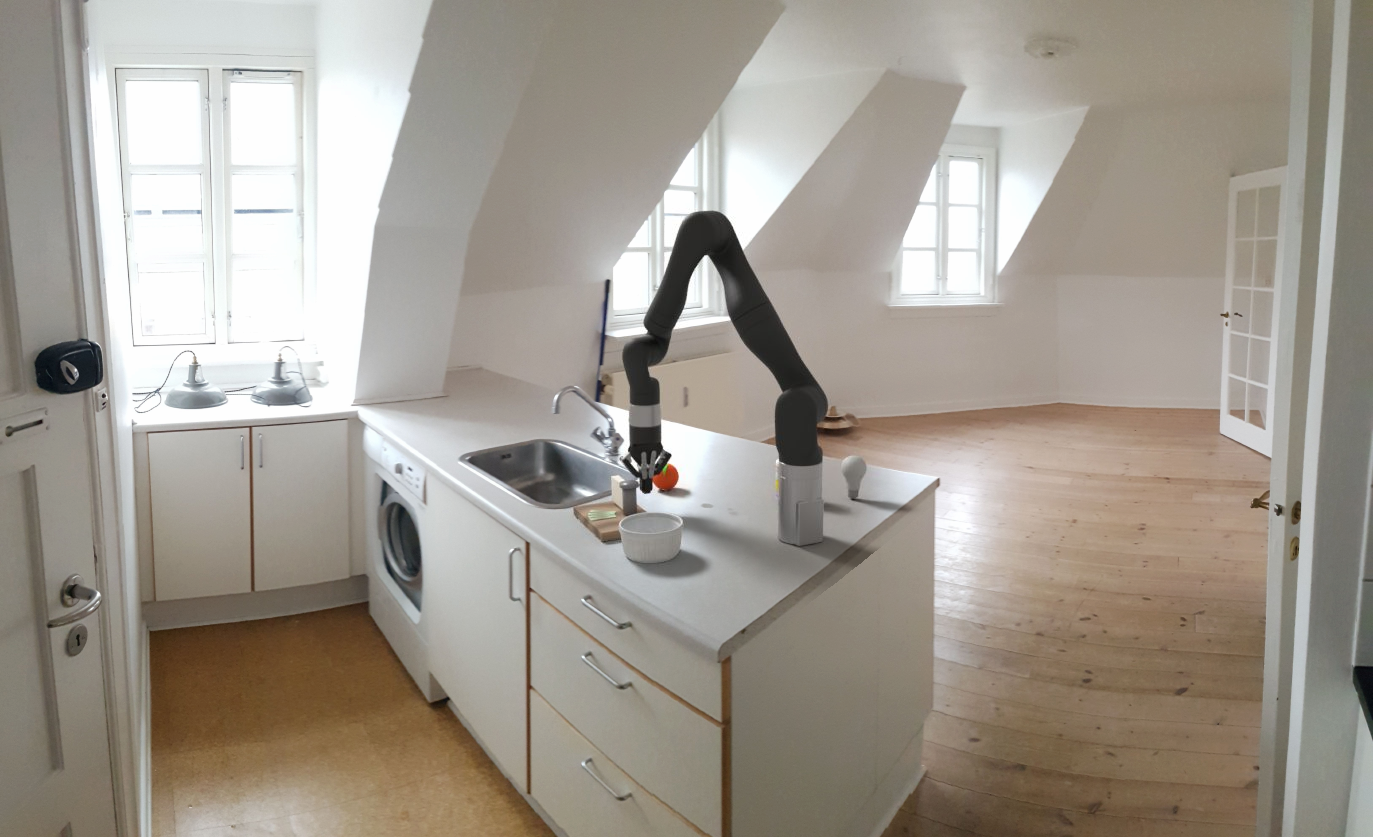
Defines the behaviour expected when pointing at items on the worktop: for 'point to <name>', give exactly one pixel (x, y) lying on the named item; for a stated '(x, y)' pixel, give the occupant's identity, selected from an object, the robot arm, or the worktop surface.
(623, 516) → the board
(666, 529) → the ramekin
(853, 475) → the lightbulb
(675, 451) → the worktop surface
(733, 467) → the worktop surface
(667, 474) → the clementine
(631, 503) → the knob
